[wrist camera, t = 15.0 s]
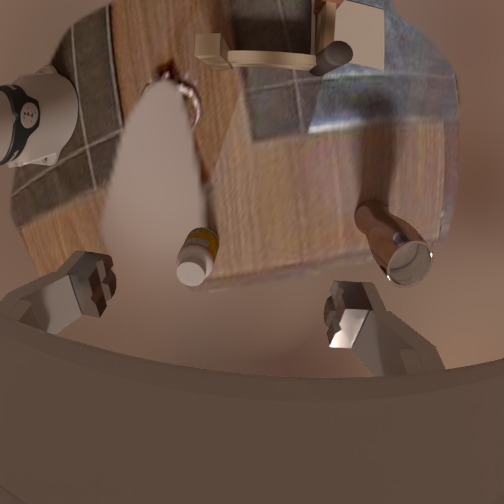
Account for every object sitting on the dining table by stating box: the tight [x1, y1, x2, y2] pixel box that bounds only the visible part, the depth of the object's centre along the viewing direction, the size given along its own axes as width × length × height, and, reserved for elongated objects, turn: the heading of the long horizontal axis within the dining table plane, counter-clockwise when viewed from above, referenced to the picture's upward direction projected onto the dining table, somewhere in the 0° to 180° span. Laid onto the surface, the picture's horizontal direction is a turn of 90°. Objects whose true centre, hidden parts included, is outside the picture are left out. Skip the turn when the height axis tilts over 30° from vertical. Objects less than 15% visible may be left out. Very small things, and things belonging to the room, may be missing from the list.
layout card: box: [311, 0, 384, 70], centre depth 28 cm, size 11×11×1 cm
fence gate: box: [314, 0, 344, 56], centre depth 23 cm, size 9×2×12 cm, turn 175°
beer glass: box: [355, 199, 433, 288], centre depth 36 cm, size 7×7×15 cm
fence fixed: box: [195, 33, 353, 76], centre depth 27 cm, size 15×3×13 cm, turn 88°
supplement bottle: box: [176, 228, 219, 286], centre depth 42 cm, size 5×5×10 cm
